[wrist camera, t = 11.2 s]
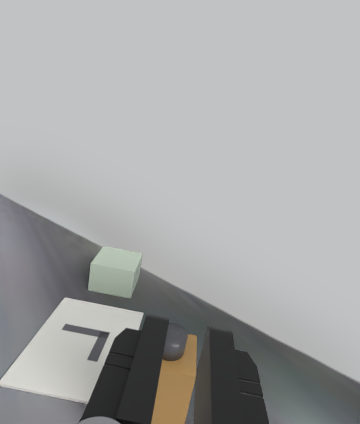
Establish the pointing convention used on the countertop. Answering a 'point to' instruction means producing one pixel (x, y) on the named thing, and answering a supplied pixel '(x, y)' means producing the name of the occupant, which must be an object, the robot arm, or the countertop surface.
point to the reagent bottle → (175, 377)
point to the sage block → (115, 272)
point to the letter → (70, 350)
